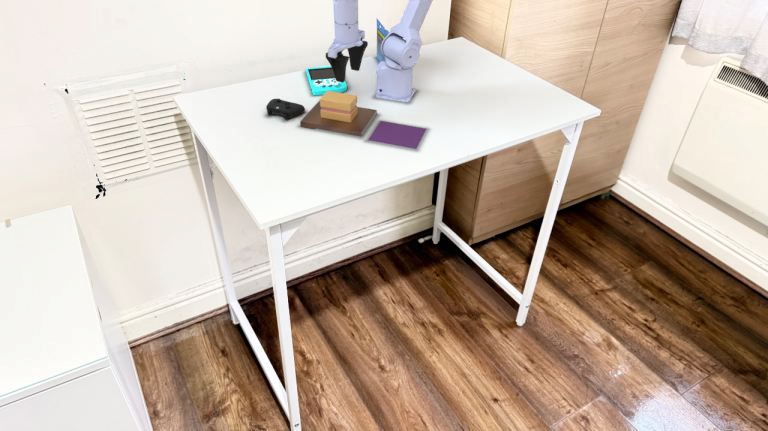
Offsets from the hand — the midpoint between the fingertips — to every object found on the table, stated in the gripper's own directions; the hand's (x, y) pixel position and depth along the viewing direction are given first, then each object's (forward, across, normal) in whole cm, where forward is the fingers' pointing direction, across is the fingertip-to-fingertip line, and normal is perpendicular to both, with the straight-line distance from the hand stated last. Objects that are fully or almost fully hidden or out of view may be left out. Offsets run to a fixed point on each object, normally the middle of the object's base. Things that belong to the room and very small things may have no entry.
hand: (347, 75), depth 132 cm
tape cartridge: (+10, +32, +5) cm, 34 cm away
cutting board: (+9, -7, -1) cm, 12 cm away
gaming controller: (+10, -10, +14) cm, 19 cm away
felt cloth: (+9, -6, -17) cm, 20 cm away
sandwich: (+8, -7, -1) cm, 10 cm away
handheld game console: (+10, +11, +14) cm, 20 cm away
